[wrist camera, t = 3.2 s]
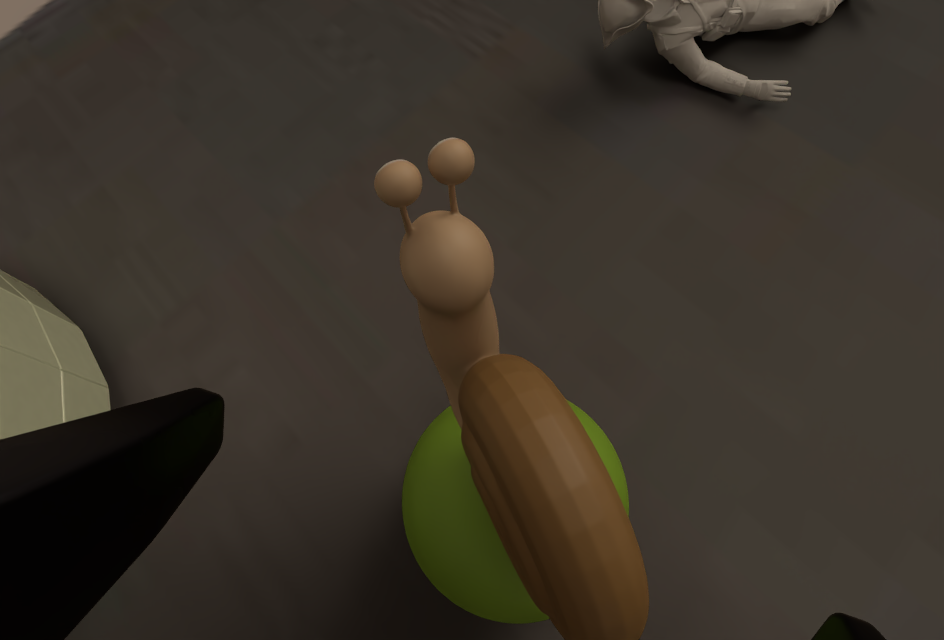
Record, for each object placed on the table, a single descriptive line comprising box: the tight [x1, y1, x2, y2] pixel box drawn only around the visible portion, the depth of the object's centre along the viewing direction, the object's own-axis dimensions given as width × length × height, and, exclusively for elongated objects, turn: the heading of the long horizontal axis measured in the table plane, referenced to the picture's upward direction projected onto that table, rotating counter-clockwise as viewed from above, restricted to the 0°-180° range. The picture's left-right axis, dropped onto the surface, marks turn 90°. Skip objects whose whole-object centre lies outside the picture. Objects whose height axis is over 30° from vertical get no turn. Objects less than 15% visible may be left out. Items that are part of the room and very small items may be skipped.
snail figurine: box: [374, 138, 649, 640], centre depth 11 cm, size 5×6×12 cm
